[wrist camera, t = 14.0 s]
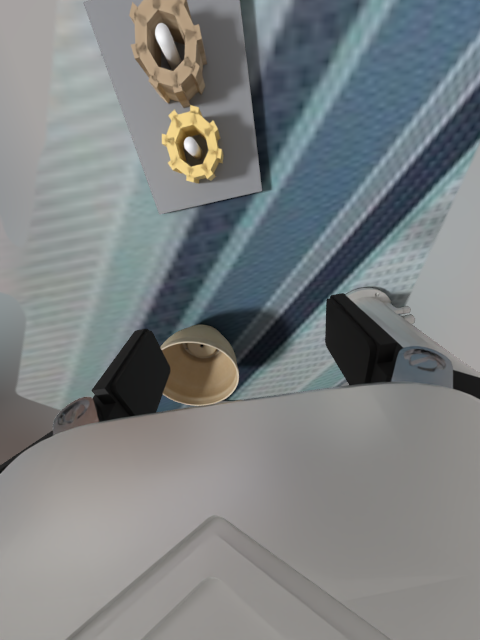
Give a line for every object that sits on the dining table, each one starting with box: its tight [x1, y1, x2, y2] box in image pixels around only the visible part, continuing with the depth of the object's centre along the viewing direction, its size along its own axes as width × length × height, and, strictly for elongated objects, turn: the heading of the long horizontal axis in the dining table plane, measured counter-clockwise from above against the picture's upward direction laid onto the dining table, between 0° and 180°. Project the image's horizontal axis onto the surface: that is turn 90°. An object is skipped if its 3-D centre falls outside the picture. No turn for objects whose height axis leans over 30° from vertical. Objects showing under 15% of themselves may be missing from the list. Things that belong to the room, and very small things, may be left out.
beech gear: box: [129, 0, 207, 108], centre depth 22 cm, size 7×7×4 cm
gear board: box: [84, 0, 262, 214], centre depth 24 cm, size 16×20×7 cm
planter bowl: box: [160, 325, 239, 406], centre depth 42 cm, size 16×16×11 cm
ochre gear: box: [162, 105, 224, 184], centre depth 26 cm, size 7×7×4 cm
